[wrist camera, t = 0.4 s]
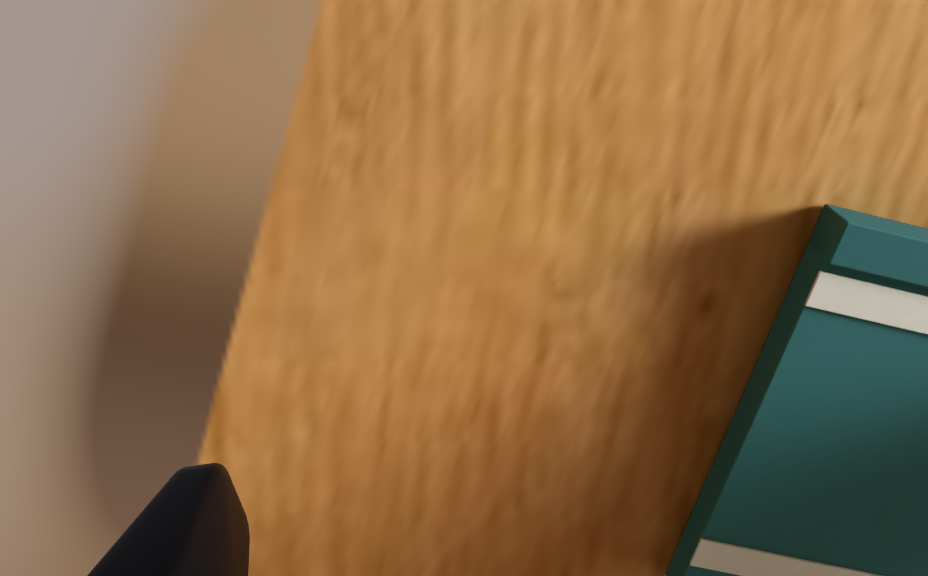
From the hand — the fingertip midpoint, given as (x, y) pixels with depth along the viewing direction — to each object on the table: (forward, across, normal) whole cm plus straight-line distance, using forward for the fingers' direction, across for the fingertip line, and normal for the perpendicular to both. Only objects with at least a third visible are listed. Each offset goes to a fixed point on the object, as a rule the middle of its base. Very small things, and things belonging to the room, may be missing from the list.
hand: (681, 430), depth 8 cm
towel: (+12, -10, +14) cm, 21 cm away
